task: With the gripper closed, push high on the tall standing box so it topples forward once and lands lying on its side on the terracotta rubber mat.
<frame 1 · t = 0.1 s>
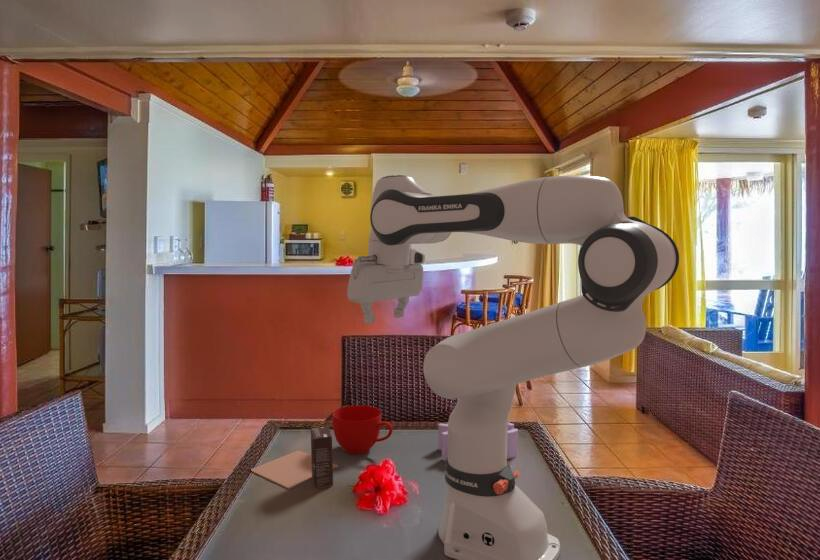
hand: (384, 319, 112), 39 cm above the table, tool pointing down, fingers open, 8 cm apart
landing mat: (294, 468, 129), on the table
clip: (477, 454, 139), on the table
box: (321, 482, 122), on the table, touching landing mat
ceramic cup: (363, 451, 140), on the table
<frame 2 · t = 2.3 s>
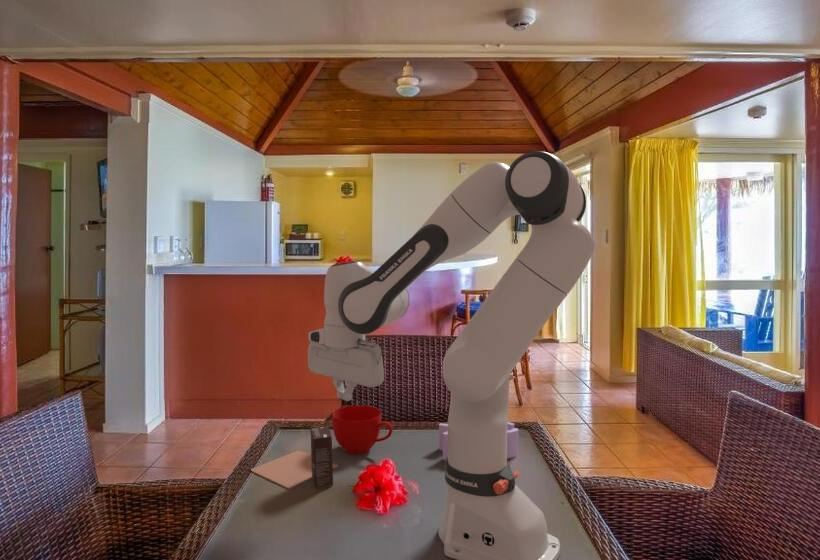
hand: (344, 399, 115), 21 cm above the table, tool pointing down, fingers closed
nothing on the table moved.
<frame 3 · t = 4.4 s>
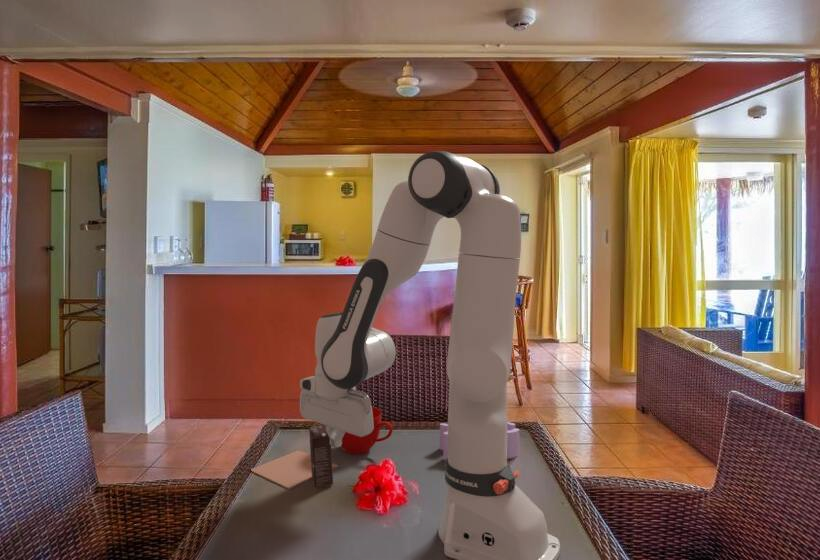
hand: (335, 445, 118), 10 cm above the table, tool pointing down, fingers closed, pressing on box
box: (321, 481, 122), on the table, touching gripper, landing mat
everything else where it was.
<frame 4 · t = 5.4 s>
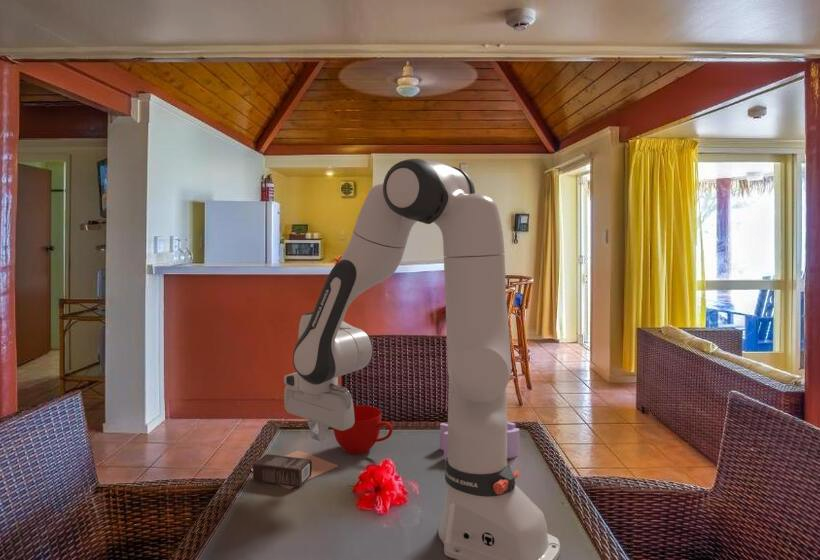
hand: (318, 439, 122), 10 cm above the table, tool pointing down, fingers closed
box: (306, 474, 121), point 2 cm above the table, touching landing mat
everything else where it was.
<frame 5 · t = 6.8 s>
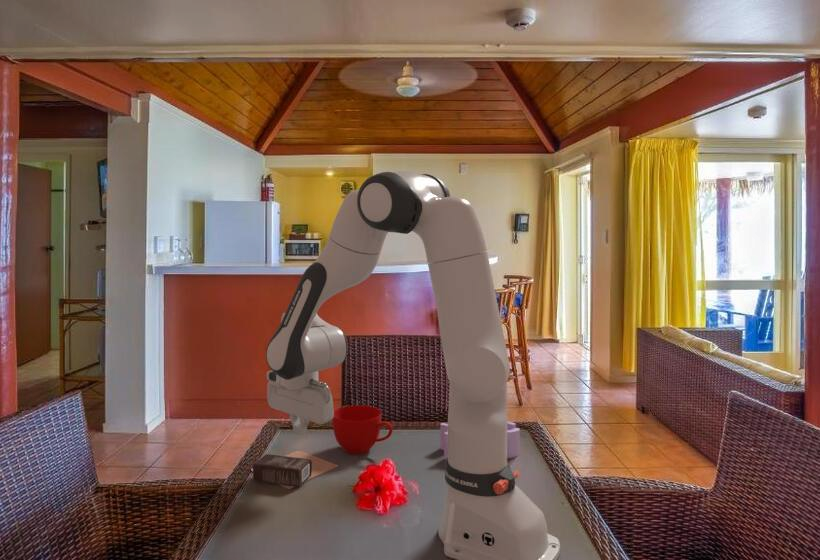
hand: (300, 433, 126), 10 cm above the table, tool pointing down, fingers closed
nothing on the table moved.
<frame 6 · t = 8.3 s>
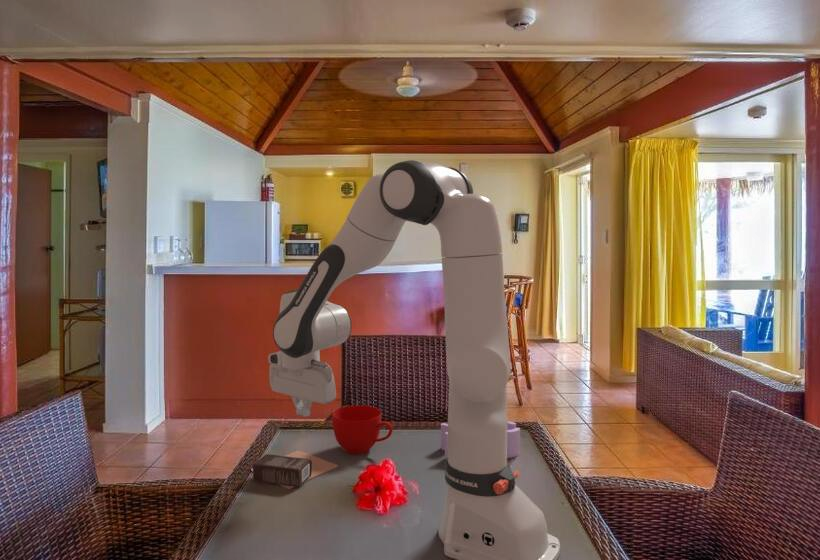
hand: (303, 415, 125), 14 cm above the table, tool pointing down, fingers closed
nothing on the table moved.
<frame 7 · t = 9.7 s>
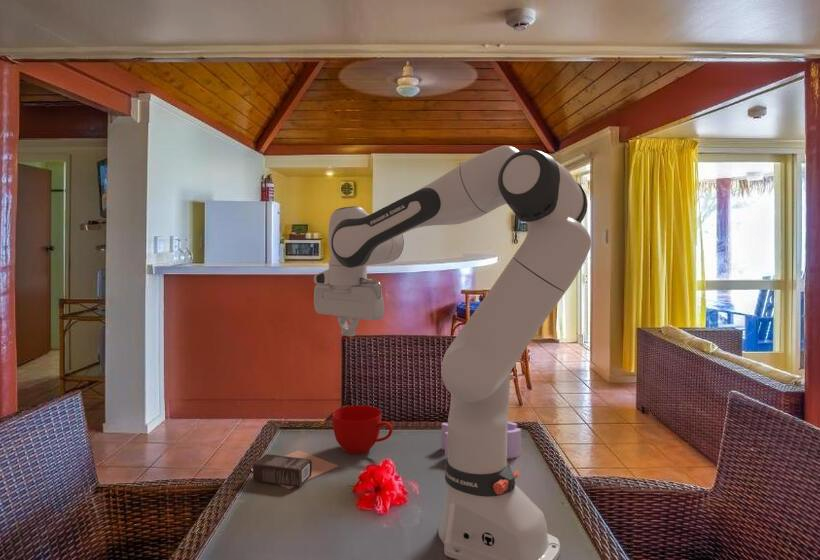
hand: (348, 335, 125), 33 cm above the table, tool pointing down, fingers closed
nothing on the table moved.
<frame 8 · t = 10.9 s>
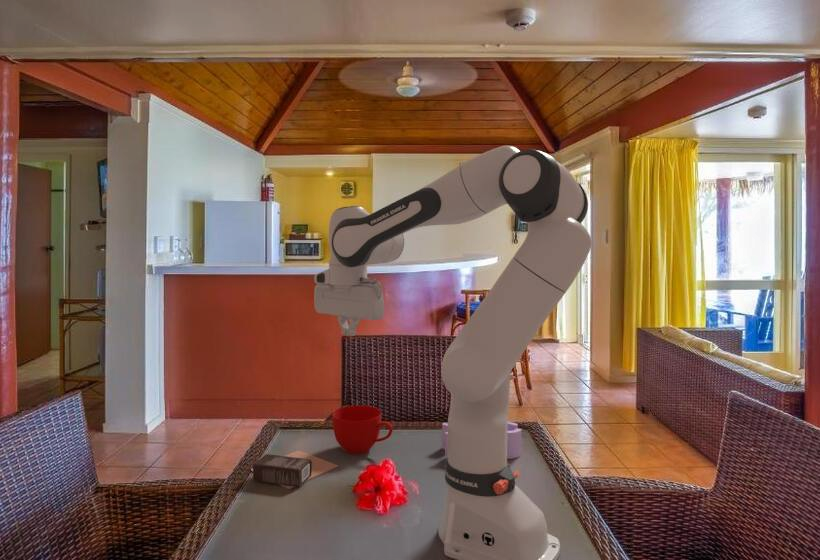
hand: (348, 335, 125), 33 cm above the table, tool pointing down, fingers closed
nothing on the table moved.
at the end: box tilted 88°; box inside the target area (5.1 cm from its centre), point 2.2 cm above the table; box touching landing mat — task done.
